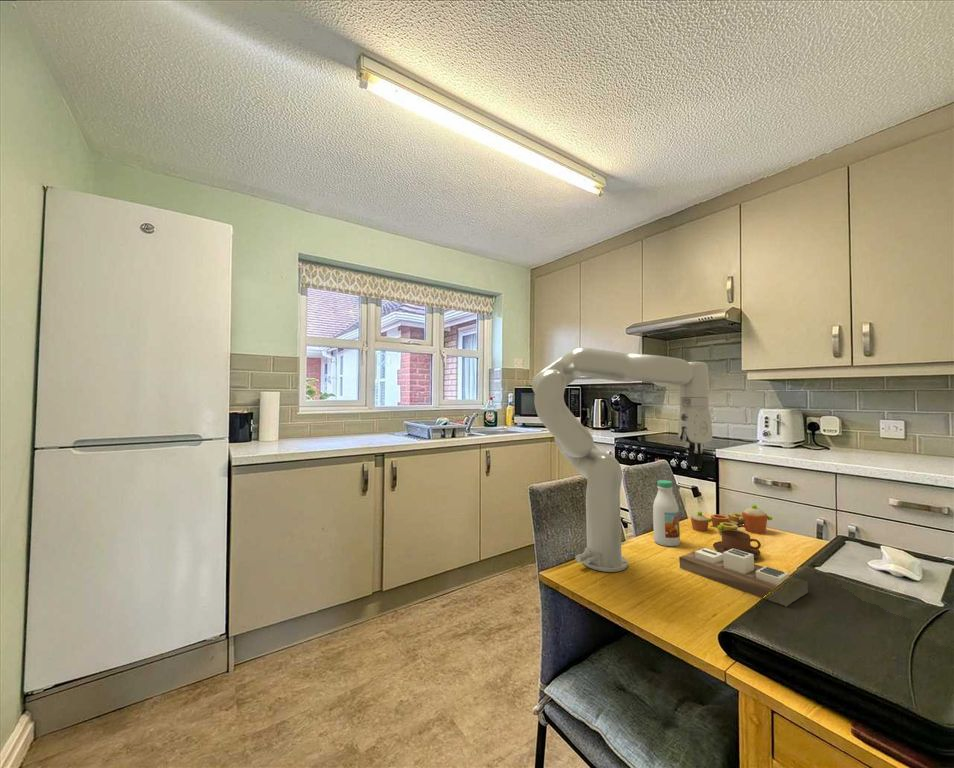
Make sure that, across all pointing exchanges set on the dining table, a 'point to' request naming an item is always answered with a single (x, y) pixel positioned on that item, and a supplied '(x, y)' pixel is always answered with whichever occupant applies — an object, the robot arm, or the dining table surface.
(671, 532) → the milk bottle
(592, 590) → the dining table surface
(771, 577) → the tile three
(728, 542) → the cup and saucer
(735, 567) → the tile two
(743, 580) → the board
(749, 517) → the toy tea set
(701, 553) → the tile one
